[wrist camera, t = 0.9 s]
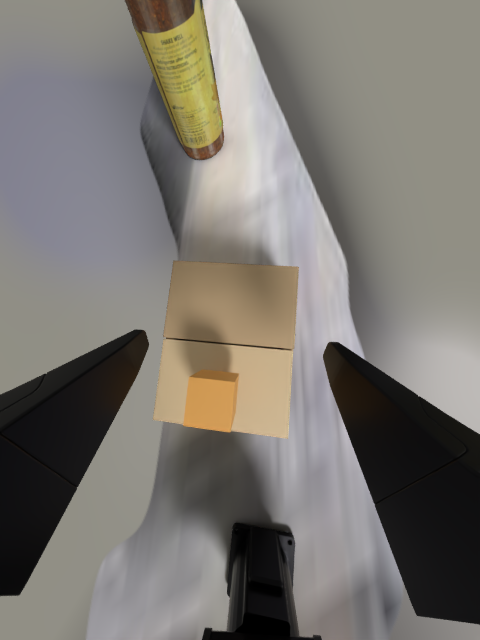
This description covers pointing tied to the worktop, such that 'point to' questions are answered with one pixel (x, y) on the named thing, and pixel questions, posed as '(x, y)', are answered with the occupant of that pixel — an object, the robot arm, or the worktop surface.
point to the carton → (233, 304)
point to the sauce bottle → (182, 69)
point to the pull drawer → (225, 387)
